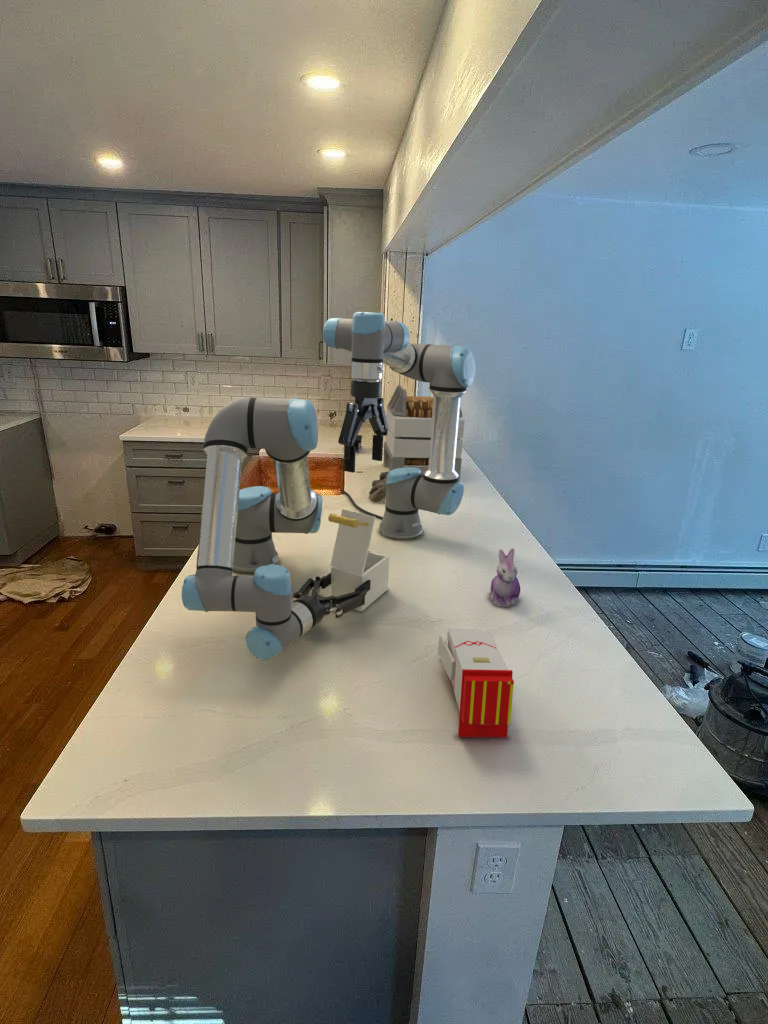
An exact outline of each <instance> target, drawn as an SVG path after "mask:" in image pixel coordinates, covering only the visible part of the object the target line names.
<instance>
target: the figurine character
mask: <svg viewBox="0 0 768 1024" xmlns="http://www.w3.org/2000/svg"><path fill="white" fill-rule="evenodd" d="M362 439H363V435H361V434H358V435H357V437H356V440H355V442H354V446H356V452H357V453H359V452H360V451H361V450H362V448H363V446H362Z"/></svg>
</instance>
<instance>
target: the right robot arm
mask: <svg viewBox="0 0 768 1024" xmlns="http://www.w3.org/2000/svg"><path fill="white" fill-rule="evenodd" d="M322 339H323V342H324V343H325V345H326V346H327V347H329V348H332V349H336V350H338V349H339V350H345V351H348V352H351V362H350V364H351V365H350V378H351V379H352V380H351V381H350V396H352V397H353V398H354V402H347V403H346V406H345V407H346V410H345V415H344V419H343V422H342V426H341V430H340V432H339V433H340V434H339V437H338V441H337V442H338V444H339V445H341V446H343V471H344V472H348V473H351V474H352V473H353V474H354V473H356V452H357V451H356V446H354V442H355V440H356V437H357V435H359V433H360V431H361V428H362V426H363V424H364V423H366V421H367V420H368V422H369V424H370V426H371V429H372V431H373V433H374V434H373V435H372V447H371V448H372V449H371V460H372V461H376V462H383V457H384V437H386V436H387V434H388V424H387V419H386V411H385V406H384V405H385V403H384V402H385V401H384V398H383V397H382V394H383V392H382V391H383V382H382V381H381V380H382V379H383V371H384V367H383V365H386V366H388V367H389V368H390V370H391V371H393V372H394V373H397V374H399V375H401V376H404V377H407V378H409V379H411V380H414V381H418V382H423V383H429V387H428V388H429V391H430V393H431V394H432V396H433V397H434V398H433V412H432V426H431V439H430V453H429V465H428V466H427V469H426V470H424V471H423V474H422V470H421V468H419V467H414V466H411V467H409V466H406V467H404V468H397V469H393V470H391V471H390V470H389V471H388V474H387V481H386V497H385V504H384V505H385V507H384V508H385V509H384V513H383V515H382V516H381V515H378V514H376V513H372V512H369V511H367V510H366V509H363V508H362V507H360V506H359V505H357V504H356V503H355V501H354V499H353V498H352V495H350V494H349V493H348V492H347V491H345V489H342V488H340V492H341V493H343V494H344V495H346V496H347V497H348V499H349V501H350V503H351V504H352V506H354V507H355V508H356V509H357V510H358V511H360V512H362V513H363V514H366V515H370V516H375V519H376V518H377V519H379V520H381V522H379V526H378V533H379V534H380V535H381V536H382V537H385V538H387V539H389V540H395V541H410V540H415V539H418V538H420V537H421V536H422V535H423V525H422V524H421V518H420V515H419V510H421V511H426V512H429V513H433V514H437V515H443V516H452V515H453V514H454V513H456V511H457V510H458V509H459V507H460V505H461V502H462V500H463V496H464V493H465V492H464V491H465V487H464V486H465V485H464V483H462V482H461V481H460V482H458V477H459V475H458V473H457V472H456V471H455V458H456V447H457V436H458V424H459V413H460V408H461V401H462V396H464V395H465V394H466V393H467V388H469V387H471V386H472V385H473V383H474V379H475V377H476V362H475V358H474V355H473V352H472V351H471V350H470V349H469V348H467V347H466V346H465V347H464V346H459V345H446V344H445V345H444V344H432V343H431V344H430V343H412V342H410V340H411V334H410V329H409V328H408V326H407V325H406V324H405V323H404V322H402V321H398V320H385V314H384V313H382V312H375V311H374V312H373V311H356V312H354V313H353V315H352V318H344V317H343V318H342V317H333V318H332V317H331V318H329V319H327V320H326V321H325V323H324V324H323V330H322Z"/></svg>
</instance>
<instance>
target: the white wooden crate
mask: <svg viewBox="0 0 768 1024" xmlns="http://www.w3.org/2000/svg"><path fill="white" fill-rule="evenodd" d="M407 394H408V393H407V390H406V389H404V388H403V387H402V385H399V384H398V385H397V386H396V388H395V390H394V392H393V394H392V395H391V398H390V400H389V402H388V404H387V405H386V411H385V415H386V419H387V424H388V434H387V436H385V438H384V441H383V466H384V467H388V468H389V472H390V471H391V470H393V469H397V468H405V466H406V467H409V466H411V467H417V466H418V467H429V453H430V439H431V426H432V412H433V398H434V396H415V395H414V396H413V395H412V396H411V395H407ZM464 429H465V419H464V418H463V411H462V408H461V407H460V413H459V424H458V436H457V447H456V458H455V471H456V472H457V473H458V475H459V477H458V482H461V472H462V461H463V460H462V453H463V442H464V441H463V440H462V439H463V438H464V431H465V430H464Z"/></svg>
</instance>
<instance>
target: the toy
mask: <svg viewBox="0 0 768 1024" xmlns="http://www.w3.org/2000/svg"><path fill="white" fill-rule="evenodd" d="M446 640H447V643H446V641H445V639H444V636H443V635H442V634H439V637H438V646H437V656H438V657H439V659H440V661H441V663H442V666H443V668H444V670H445V672H446V674H447V677H448V679H449V681H450V684H451V687H452V690H453V693H454V697H455V701H456V705H457V708H458V711H459V714H458V715H459V716H458V730H457V731H458V732H457V737H458V738H508V731H509V726H510V725H511V717H512V707H513V697H514V696H513V695H514V684H515V680H514V679H513V673H514V671H513V670H512V669H508V667H507V665H506V662H505V661H504V659H503V658H502V655H501V653H500V651H499V649H498V647H497V643H496V639H495V637H494V635H493V634H491V632H490V631H489V629H467V628H466V629H465V628H463V629H461V628H460V629H459V628H448V630H447V639H446Z"/></svg>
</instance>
